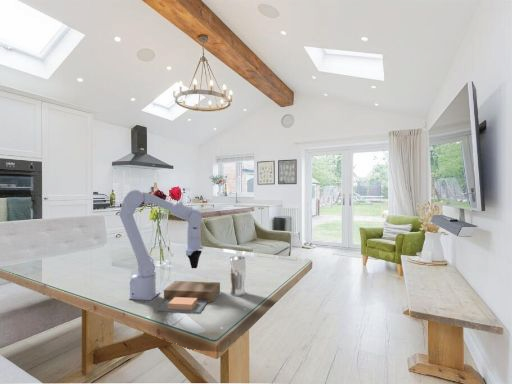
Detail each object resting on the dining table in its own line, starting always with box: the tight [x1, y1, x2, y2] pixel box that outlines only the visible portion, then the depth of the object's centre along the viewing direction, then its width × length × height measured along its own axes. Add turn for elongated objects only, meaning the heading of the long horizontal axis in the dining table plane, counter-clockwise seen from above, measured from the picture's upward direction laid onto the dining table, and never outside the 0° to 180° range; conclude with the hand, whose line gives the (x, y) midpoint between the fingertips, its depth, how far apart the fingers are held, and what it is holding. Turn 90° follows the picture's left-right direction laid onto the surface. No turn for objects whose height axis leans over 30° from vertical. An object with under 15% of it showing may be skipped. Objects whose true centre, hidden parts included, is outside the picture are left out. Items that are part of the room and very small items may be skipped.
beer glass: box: [228, 255, 247, 297], centre depth 117 cm, size 7×7×15 cm
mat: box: [156, 299, 209, 314], centre depth 104 cm, size 16×10×1 cm, turn 83°
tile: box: [168, 297, 197, 310], centre depth 103 cm, size 9×6×2 cm, turn 83°
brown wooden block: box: [163, 280, 221, 303], centre depth 114 cm, size 20×11×4 cm, turn 83°
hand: (194, 267), depth 122 cm, fingers closed
